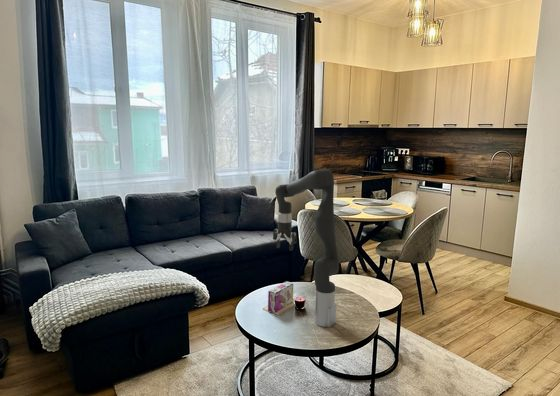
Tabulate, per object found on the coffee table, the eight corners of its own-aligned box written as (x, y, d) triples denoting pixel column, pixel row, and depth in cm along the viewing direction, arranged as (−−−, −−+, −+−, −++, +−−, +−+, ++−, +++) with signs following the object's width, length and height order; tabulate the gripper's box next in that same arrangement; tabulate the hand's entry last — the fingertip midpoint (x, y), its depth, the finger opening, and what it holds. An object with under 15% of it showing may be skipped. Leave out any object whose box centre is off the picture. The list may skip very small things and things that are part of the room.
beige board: (301, 302, 209) (301, 301, 209) (281, 315, 194) (281, 314, 194) (283, 296, 216) (283, 295, 216) (262, 309, 201) (262, 308, 201)
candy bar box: (275, 293, 193) (293, 282, 206) (268, 290, 196) (286, 280, 209) (275, 313, 195) (293, 302, 208) (267, 310, 198) (285, 299, 211)
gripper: (299, 221, 207) (299, 249, 210) (278, 217, 215) (278, 245, 218) (291, 223, 201) (291, 253, 204) (270, 219, 209) (270, 248, 212)
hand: (284, 248), depth 211 cm, fingers open, 8 cm apart
